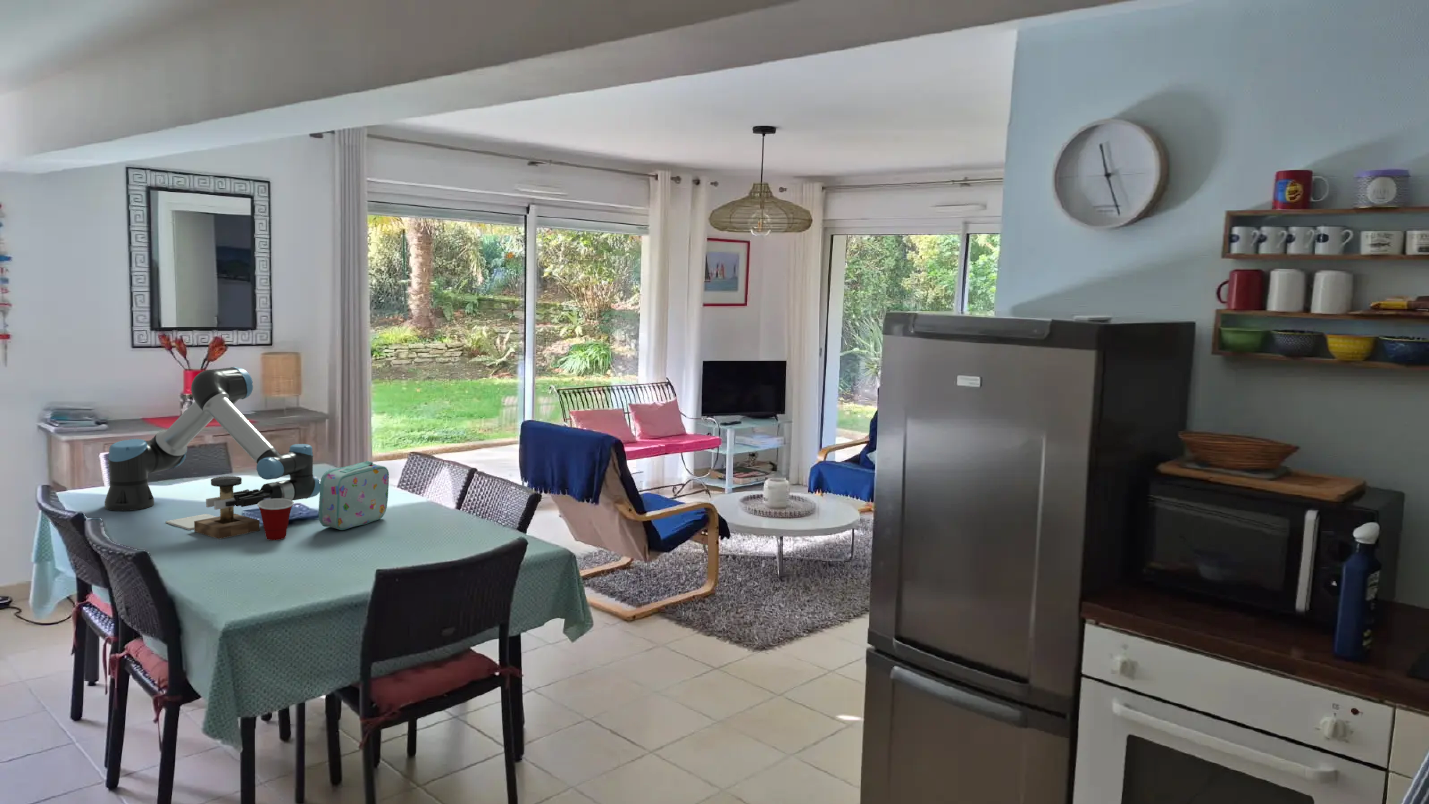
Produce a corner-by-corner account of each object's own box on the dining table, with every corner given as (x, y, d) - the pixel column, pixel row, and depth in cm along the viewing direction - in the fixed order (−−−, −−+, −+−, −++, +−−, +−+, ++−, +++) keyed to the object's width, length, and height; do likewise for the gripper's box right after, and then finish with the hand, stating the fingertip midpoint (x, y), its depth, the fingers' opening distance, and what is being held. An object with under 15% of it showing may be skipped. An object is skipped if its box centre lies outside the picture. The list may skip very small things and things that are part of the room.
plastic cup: (260, 544, 304) (259, 507, 302) (255, 535, 313) (255, 500, 311) (296, 540, 309) (296, 504, 308) (291, 532, 318) (291, 497, 317)
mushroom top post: (206, 531, 315) (205, 479, 313) (232, 526, 323) (231, 475, 321) (222, 536, 310) (221, 483, 308) (248, 530, 318) (247, 478, 316)
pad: (166, 522, 323) (165, 521, 323) (206, 515, 335) (206, 513, 335) (189, 530, 316) (189, 528, 316) (229, 522, 328) (229, 520, 328)
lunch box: (368, 513, 347) (368, 455, 345) (392, 517, 344) (392, 458, 341) (315, 530, 322) (314, 468, 320) (339, 534, 319) (339, 471, 316)
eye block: (194, 531, 314) (194, 521, 314) (234, 523, 326) (234, 513, 326) (219, 539, 307) (218, 528, 307) (259, 530, 319) (259, 520, 318)
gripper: (291, 507, 327) (226, 520, 307) (261, 499, 335) (196, 511, 316) (291, 485, 326) (225, 497, 306) (261, 478, 335) (195, 489, 315)
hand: (210, 504), depth 311 cm, fingers closed on mushroom top post, 4 cm apart
